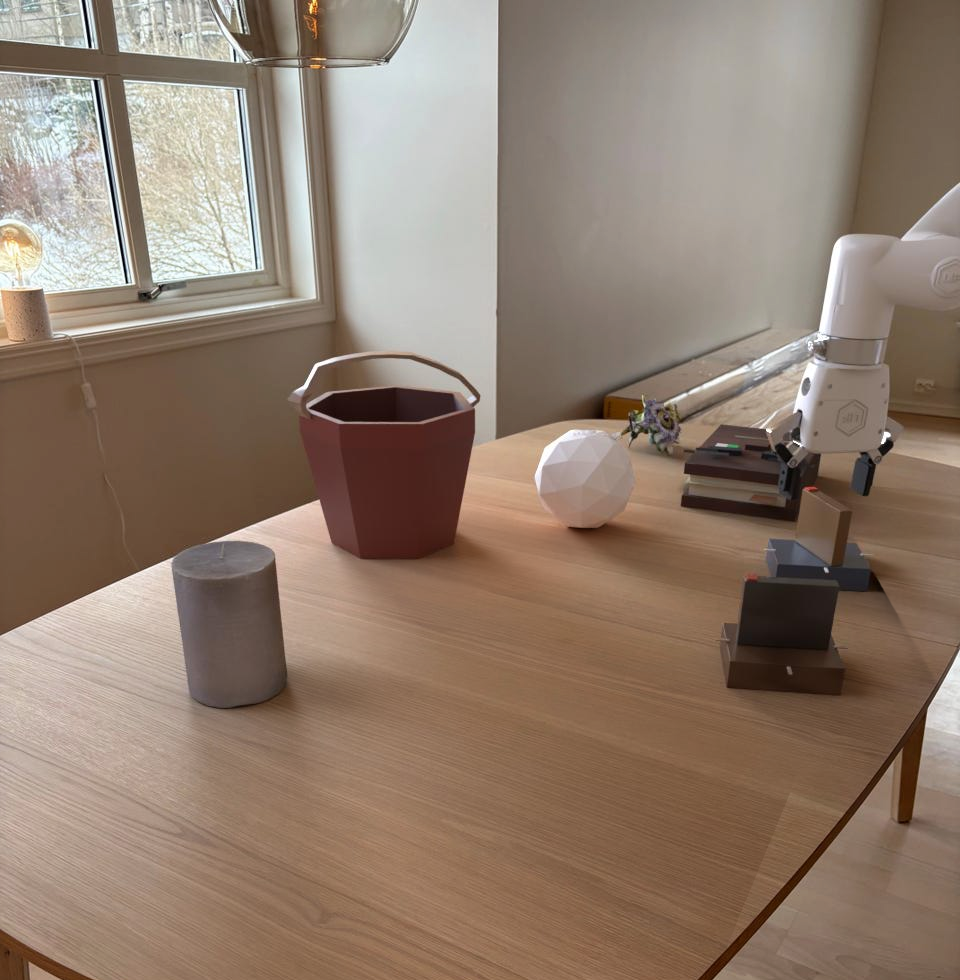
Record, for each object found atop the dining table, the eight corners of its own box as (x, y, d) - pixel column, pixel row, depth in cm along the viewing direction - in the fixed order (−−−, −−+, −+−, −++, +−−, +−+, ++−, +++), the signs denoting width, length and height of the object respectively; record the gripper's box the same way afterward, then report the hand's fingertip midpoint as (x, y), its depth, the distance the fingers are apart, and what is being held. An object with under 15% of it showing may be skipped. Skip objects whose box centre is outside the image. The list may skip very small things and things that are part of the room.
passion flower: (665, 483, 177) (669, 441, 166) (609, 465, 180) (609, 422, 170) (688, 437, 181) (693, 393, 171) (633, 420, 184) (635, 375, 174)
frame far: (842, 565, 120) (853, 508, 116) (830, 566, 119) (840, 509, 116) (806, 539, 127) (814, 486, 124) (794, 540, 127) (802, 486, 124)
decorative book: (834, 427, 162) (809, 476, 137) (827, 472, 165) (801, 527, 140) (717, 415, 169) (673, 460, 144) (712, 458, 172) (668, 509, 148)
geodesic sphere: (627, 462, 149) (579, 391, 141) (677, 489, 137) (628, 413, 129) (553, 529, 149) (501, 462, 141) (598, 562, 137) (543, 490, 129)
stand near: (831, 645, 107) (836, 619, 105) (856, 706, 95) (861, 677, 94) (708, 638, 108) (711, 612, 107) (717, 697, 97) (720, 668, 95)
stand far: (857, 558, 130) (861, 536, 128) (880, 599, 118) (884, 574, 117) (755, 553, 131) (758, 531, 130) (767, 592, 120) (770, 568, 118)
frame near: (825, 643, 101) (837, 577, 97) (828, 650, 99) (840, 584, 96) (735, 637, 102) (744, 572, 98) (737, 644, 100) (745, 579, 97)
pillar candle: (232, 655, 105) (216, 521, 98) (307, 675, 100) (295, 537, 94) (167, 695, 97) (144, 552, 90) (245, 719, 93) (227, 571, 86)
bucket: (290, 566, 127) (272, 369, 116) (317, 510, 147) (304, 337, 136) (479, 566, 127) (479, 369, 116) (481, 511, 147) (481, 338, 136)
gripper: (797, 358, 107) (772, 508, 115) (937, 356, 111) (904, 501, 119) (765, 346, 114) (744, 488, 122) (898, 344, 117) (869, 482, 125)
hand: (823, 494), depth 120 cm, fingers open, 9 cm apart
